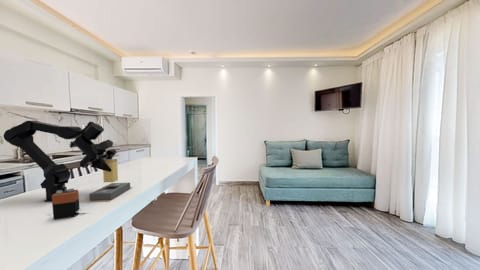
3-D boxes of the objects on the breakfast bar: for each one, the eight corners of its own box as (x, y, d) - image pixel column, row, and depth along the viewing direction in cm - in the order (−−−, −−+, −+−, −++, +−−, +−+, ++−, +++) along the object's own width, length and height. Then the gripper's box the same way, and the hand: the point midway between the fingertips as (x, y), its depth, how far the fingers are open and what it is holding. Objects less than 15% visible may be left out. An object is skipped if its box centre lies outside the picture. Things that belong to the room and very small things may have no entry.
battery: (75, 216, 77) (74, 190, 76) (53, 220, 75) (50, 192, 74) (80, 212, 81) (78, 186, 81) (58, 215, 79) (56, 189, 78)
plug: (103, 182, 95) (102, 160, 95) (108, 180, 99) (107, 159, 98) (113, 182, 95) (112, 159, 95) (118, 180, 99) (117, 158, 98)
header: (85, 206, 87) (84, 195, 87) (113, 190, 107) (113, 181, 107) (109, 205, 87) (108, 194, 87) (133, 190, 107) (132, 181, 107)
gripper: (84, 135, 86) (113, 161, 87) (111, 133, 105) (135, 154, 106) (67, 155, 87) (95, 180, 87) (97, 149, 105) (120, 170, 106)
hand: (113, 170), depth 97 cm, fingers closed on plug, 4 cm apart
